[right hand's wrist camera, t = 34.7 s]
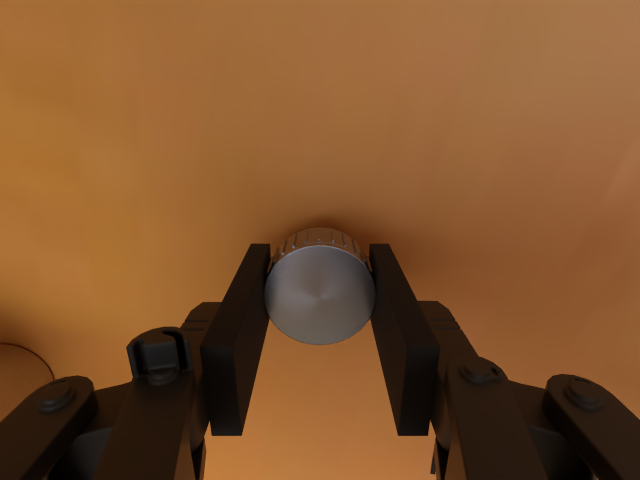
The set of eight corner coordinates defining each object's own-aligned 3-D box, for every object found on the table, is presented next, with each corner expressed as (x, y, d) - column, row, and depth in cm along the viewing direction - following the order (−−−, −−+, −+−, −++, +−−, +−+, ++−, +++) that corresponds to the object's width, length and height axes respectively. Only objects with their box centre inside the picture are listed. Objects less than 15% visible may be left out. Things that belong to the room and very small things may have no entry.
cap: (247, 268, 14) (237, 292, 13) (326, 204, 14) (327, 219, 12) (314, 334, 16) (313, 365, 14) (391, 279, 15) (401, 303, 13)
